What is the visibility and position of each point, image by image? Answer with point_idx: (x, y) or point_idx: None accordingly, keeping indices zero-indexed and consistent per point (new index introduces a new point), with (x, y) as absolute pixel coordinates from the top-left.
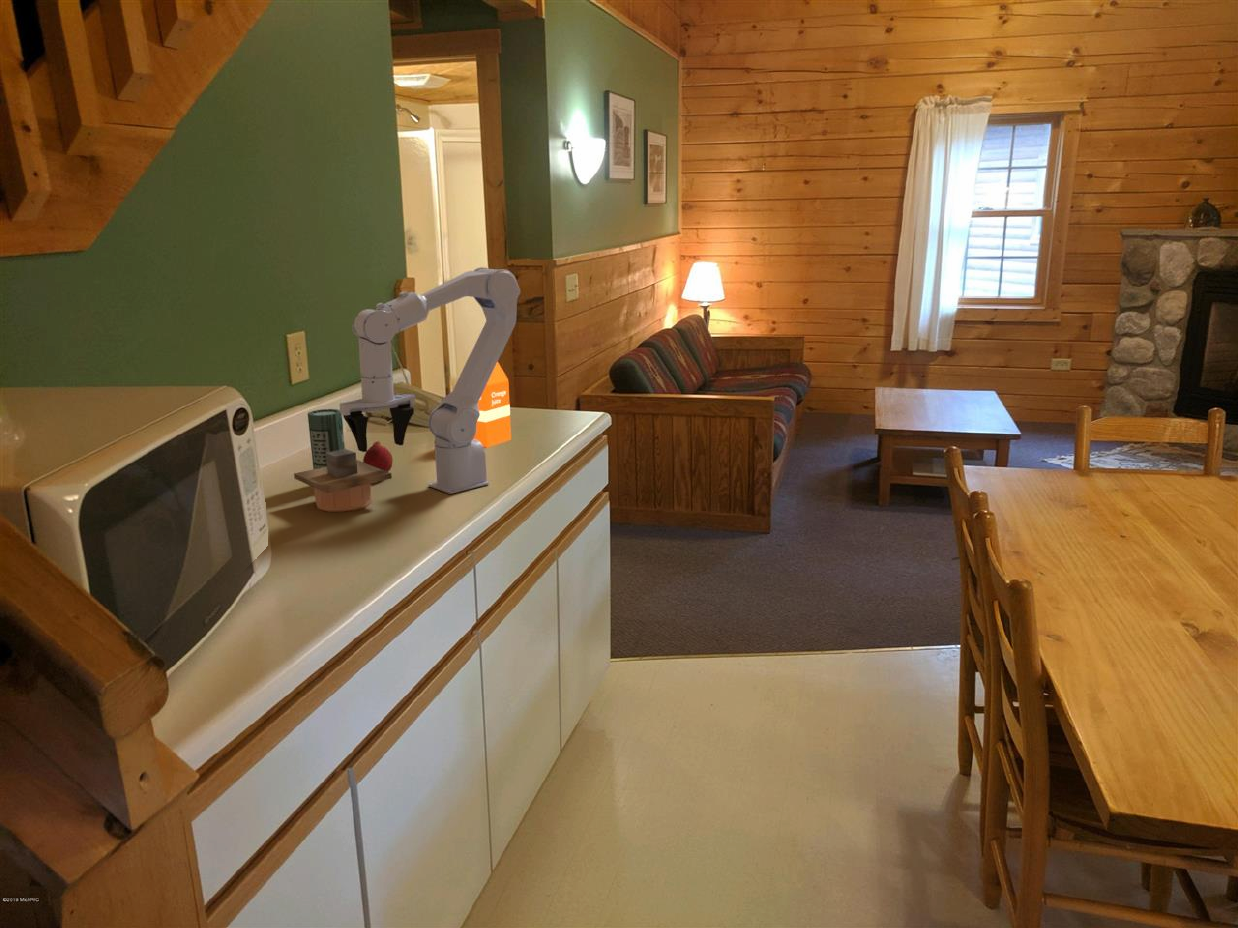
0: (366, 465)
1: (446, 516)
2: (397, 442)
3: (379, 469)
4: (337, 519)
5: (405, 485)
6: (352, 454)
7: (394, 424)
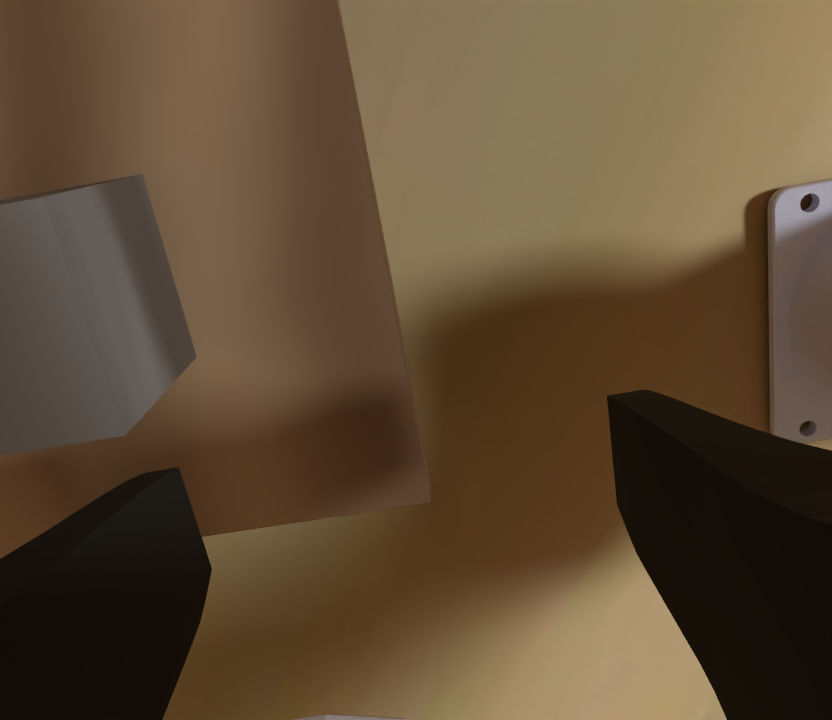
0: (331, 156)
1: (566, 710)
2: (618, 464)
3: (388, 354)
4: None
5: (660, 56)
6: (92, 438)
7: (716, 512)
